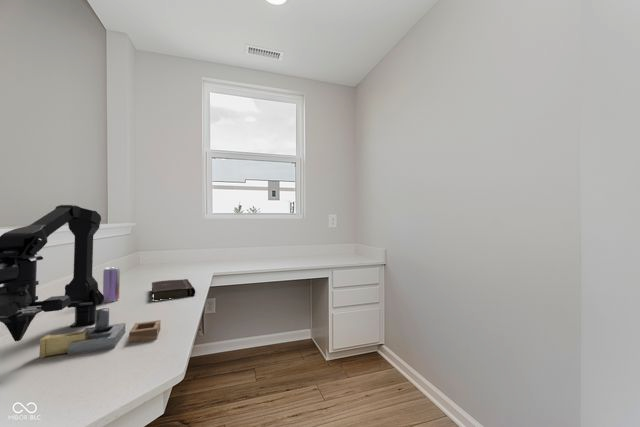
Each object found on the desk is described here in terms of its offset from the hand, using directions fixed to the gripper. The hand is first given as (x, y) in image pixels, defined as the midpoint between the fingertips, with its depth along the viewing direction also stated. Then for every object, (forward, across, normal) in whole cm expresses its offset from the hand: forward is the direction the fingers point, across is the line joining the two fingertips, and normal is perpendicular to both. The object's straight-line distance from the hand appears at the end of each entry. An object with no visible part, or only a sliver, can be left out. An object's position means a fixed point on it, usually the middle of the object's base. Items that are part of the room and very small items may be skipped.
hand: (18, 340), depth 69 cm
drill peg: (+5, +16, +5) cm, 18 cm away
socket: (+5, +16, +3) cm, 17 cm away
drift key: (+5, +10, 0) cm, 11 cm away
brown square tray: (+5, +28, +3) cm, 28 cm away
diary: (+6, +30, +59) cm, 67 cm away
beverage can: (+5, +6, +55) cm, 56 cm away
